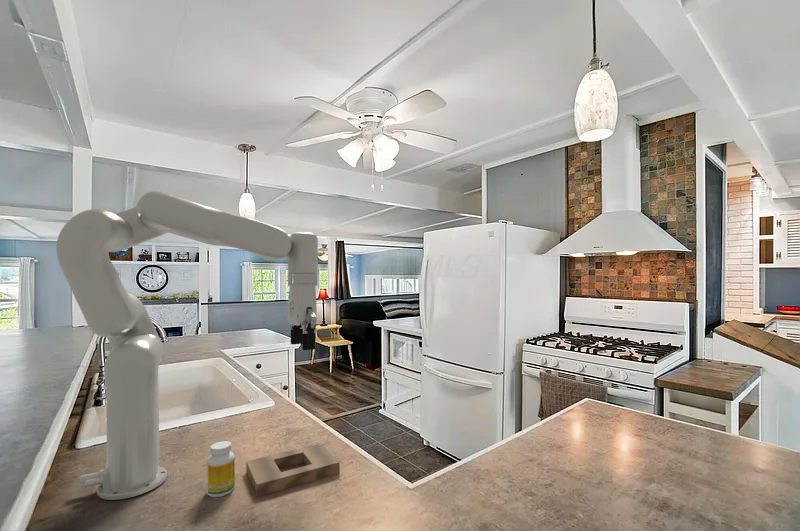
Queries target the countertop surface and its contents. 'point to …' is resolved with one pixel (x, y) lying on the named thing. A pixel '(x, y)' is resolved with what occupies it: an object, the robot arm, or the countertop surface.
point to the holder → (272, 479)
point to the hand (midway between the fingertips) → (302, 346)
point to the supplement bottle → (220, 469)
